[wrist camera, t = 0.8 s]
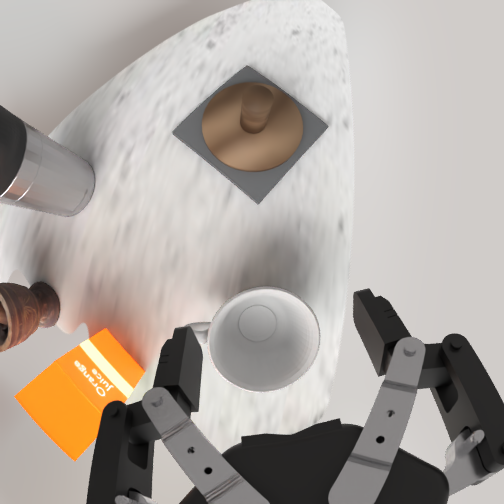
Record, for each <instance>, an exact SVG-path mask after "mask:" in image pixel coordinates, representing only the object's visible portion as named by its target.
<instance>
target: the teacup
mask: <svg viewBox="0 0 504 504" xmlns="http://www.w3.org/2000/svg"><path fill="white" fill-rule="evenodd" d="M186 326H190V327H191V328H192V330H193V332H194V334H195V336H196V338H197V340H198V342H199V344H205V343H207V347H208V353H209V356H210V360H211V362H212V364H213V366H214V368H215V369H216V371H217V372H218V373H219V374H220V375H221V376H222V377H223V378H224V379H225V380H226V381H228V382H229V383H231V384H232V385H234V386H236V387H238V388H240V389H243V390H246V391H251V392H259V393H262V392H272V391H276V390H280V389H283V388H285V387H287V386H289V385H291V384H293V383H295V382H296V381H297V380H299V379H300V378H301V377H302V376H303V375H305V374H306V372H307V371H308V370H309V369H310V367H311V366H312V364H313V363H314V361H315V359H316V356H317V353H318V350H319V345H320V328H319V323H318V321H317V318H316V316H315V314H314V312H313V310H312V309H311V308H310V306H309V305H308V304H307V303H306V302H305V301H304V300H303V299H301V298H300V297H299V296H297V295H296V294H294V293H292V292H290V291H287V290H285V289H281V288H278V287H270V286H268V287H256V288H252V289H248V290H245V291H243V292H240V293H238V294H237V295H235V296H233V297H232V298H230V299H229V300H228V301H226V302H225V303H224V304H223V305H222V306H221V307H220V308H219V310H218V311H217V312H216V314H215V316H214V317H213V319H212V322H198V323H191V324H187V325H186ZM186 326H184V327H186Z"/></svg>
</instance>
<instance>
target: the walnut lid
mask: <svg viewBox="0 0 504 504" xmlns="http://www.w3.org/2000/svg"><path fill="white" fill-rule="evenodd" d="M202 132H203V136H204V140H205V143H206V145H207V147H208V148H209V150H210V151H211V153H212V154H213V155H214V156H215V157H216V158H217V159H218V160H219V161H221V162H222V163H224V164H225V165H227V166H229V167H231V168H234V169H236V170H240V171H246V172H262V171H267V170H271V169H273V168H276V167H278V166H280V165H282V164H283V163H284V162H286V161H287V160H288V159H289V158H290V157H291V156H292V155H293V154H294V152H295V151H296V149H297V148H298V146H299V144H300V141H301V139H302V135H303V121H302V117H301V114H300V111H299V110H298V108H297V106H296V105H295V103H294V102H293V101H292V100H291V98H290V97H288V96H287V95H286V94H285V93H283V92H282V91H280V90H279V89H277V88H275V87H273V86H270V85H267V84H263V83H256V82H245V83H239V84H235V85H232V86H229V87H227V88H225V89H223V90H221V91H220V92H219V93H217V94H216V95H215V96H214V97H213V98H212V99H211V100H210V102H209V103H208V105H207V106H206V108H205V111H204V113H203V118H202Z"/></svg>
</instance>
